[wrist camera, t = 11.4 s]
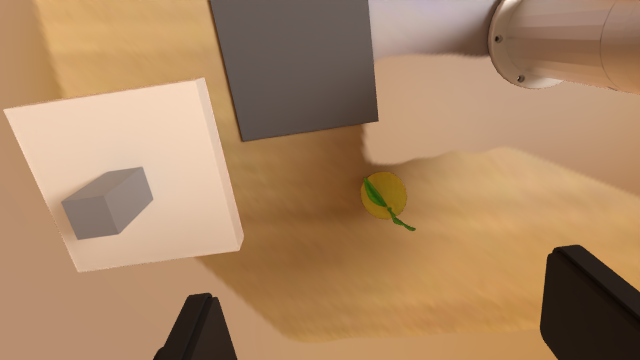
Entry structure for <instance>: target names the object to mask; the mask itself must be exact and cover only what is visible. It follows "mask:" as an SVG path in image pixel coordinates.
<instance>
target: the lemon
mask: <svg viewBox="0 0 640 360" xmlns="http://www.w3.org/2000/svg"><path fill="white" fill-rule="evenodd" d="M363 178H364V182H363V185H362V187H361V199H362V203H363V205H364V207H365V208H366V209H367V211H368V212H369V213H370V214H372V215H373V216H375V217H377V218H380V219H391V218H392V220H393V222H394V223H395V224H398V225H402V226H404V227H406V228H407V229H408V230H410V231H415V229H416V228H413V227H410V226H408V225H406V224H404V223H403V222H402V221H400V220H399V219H398V218H396V216H397V215H399V214H400V213H401V212H402V211H403V209H404V207H405V205H406V200H407V194H406V189H405V187H404V185H403V183H402V181H401V180H400V179H399V178H398V177H397V176H396V175H394V174H392V173H389V172H378V173H374V174H372V175H371V176H369V177H368V178H365V177H363Z"/></svg>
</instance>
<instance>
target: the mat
mask: <svg viewBox="0 0 640 360" xmlns="http://www.w3.org/2000/svg"><path fill="white" fill-rule="evenodd" d="M210 2H211V6H212V11H213V15H214V19H215V23H216V28H217V32H218V36H219V41H220V45H221V49H222V53H223V58H224V62H225V66H226V71H227V75H228V79H229V83H230V88H231V92H232V96H233V100H234V105H235V109H236V113H237V118H238V122H239V126H240V130H241V135H242V139H243V141H248V140H255V139H262V138H268V137H275V136H282V135H289V134H296V133H302V132H309V131H316V130H323V129H330V128H336V127H343V126H350V125H357V124H364V123H370V122H377V121H378V110H377V98H376V87H375V75H374V63H373V52H372V40H371V29H370V17H369V6H368V0H210Z"/></svg>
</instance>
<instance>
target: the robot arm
mask: <svg viewBox="0 0 640 360" xmlns="http://www.w3.org/2000/svg"><path fill="white" fill-rule="evenodd" d="M495 37H497V40H496V41H495ZM488 47H489V54H490V57H491V60H492V63H493V65H494V67H495V68H496V70H497V72H498V73H499V74H500V75H501V76H502V77H503V78H504V79H506V80H507V81H509V82H510V83H512V84H514V85H517V86H520V87H524V88H529V89H541V88H548V87H551V86H554V85H557V84H560V83H562V82H564V81H568V82H573V83H579V84H584V85H589V86H595V87H600V88H605V89H610V90H616V91H621V92H626V93H632V94H637V95H640V0H502V1H501V2H500V4H499V5H498V7H497V9H496V11H495V13H494V16H493V18H492V20H491V24H490V29H489V35H488ZM518 77H519V79H518V80H517V78H518ZM540 332H541V335H542V337H543V340H544V341H545V343H546V344H547V346H548V347H549V348H550V349H551V351H552V352H553V354H554V355H555V356H556V358H557V359H558V360H640V292H639V291H638V290H637V289H635V288H634V287H633V286H631V285H630V284H629V283H628V282H626V281H625V280H624V279H623V278H621V277H620V276H619V275H618V274H616V273H615V272H614V271H613V270H611V269H610V268H609V267H608V266H606V265H605V264H604V263H602V262H601V261H600V260H599V259H597V258H596V257H595V256H594V255H592V254H591V253H590V252H589V251H587V250H586V249H585V248H584V247H582V246H580V245H570V246H562V247H556V248H554V250H553V252H552V253H551V254H549V255H548V257H547V264H546V274H545V283H544V293H543V303H542V312H541V322H540ZM153 360H237V357H236V354H235V350H234V347H233V344H232V341H231V338H230V335H229V331H228V328H227V325H226V322H225V319H224V315H223V312H222V309H221V306H220V302H219V300H218V298H217V297H212V295H211V294H210V293H203V294H195V295H189V296H188V297H187V299H186V301H185V303H184V306H183V307H182V309H181V312H180V314H179V316H178V318H177V320H176V322H175V324H174V326H173V328H172V330H171V332H170V335H169V337H168V339H167V341H166V343H165V345H164V347H162V348H160V349H159V350H158V352H157V353H156V355H155V356H154V359H153Z"/></svg>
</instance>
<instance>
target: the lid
mask: <svg viewBox="0 0 640 360" xmlns="http://www.w3.org/2000/svg"><path fill="white" fill-rule="evenodd" d="M4 112H5V114H6V117H7V119H8V121H9V123H10V125H11V128H12V130H13V132H14V134H15V136H16V138H17V141H18V142H19V145H20V147H21V149H22V152H23V153H24V156H25V158H26V160H27V162H28V165H29V167H30V169H31V171H32V173H33V176H34V178H35V180H36V182H37V184H38V186H39V188H40V190H41V193H42V195H43V197H44V199H45V202H46V204H47V206H48V208H49V210H50V212H51V215H52V217H53V219H54V221H55V223H56V226H57V228H58V230H59V232H60V234H61V236H62V239H63V241H64V243H65V245H66V247H67V250H68V252H69V254H70V256H71V258H72V260H73V263H74V265H75V267H76V269H77V271H78V272H85V271H92V270H100V269H107V268H115V267H122V266H129V265H136V264H143V263H151V262H159V261H166V260H174V259H181V258H188V257H196V256H203V255H211V254H218V253H225V252H233V251H239V250H240V247H241V244H242V242H243V239H244V234H243V230H242V226H241V222H240V218H239V214H238V210H237V206H236V202H235V198H234V194H233V190H232V186H231V182H230V178H229V174H228V170H227V166H226V162H225V158H224V154H223V150H222V146H221V142H220V138H219V134H218V130H217V126H216V122H215V118H214V114H213V110H212V106H211V102H210V98H209V94H208V90H207V86H206V82H205V78H204V77H202V78H195V79H189V80H182V81H176V82H169V83H162V84H156V85H149V86H143V87H136V88H130V89H123V90H116V91H110V92H103V93H97V94H90V95H83V96H77V97H70V98H64V99H57V100H51V101H44V102H38V103H31V104H25V105H21V106H17V107H12V108H8V109H4Z"/></svg>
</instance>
